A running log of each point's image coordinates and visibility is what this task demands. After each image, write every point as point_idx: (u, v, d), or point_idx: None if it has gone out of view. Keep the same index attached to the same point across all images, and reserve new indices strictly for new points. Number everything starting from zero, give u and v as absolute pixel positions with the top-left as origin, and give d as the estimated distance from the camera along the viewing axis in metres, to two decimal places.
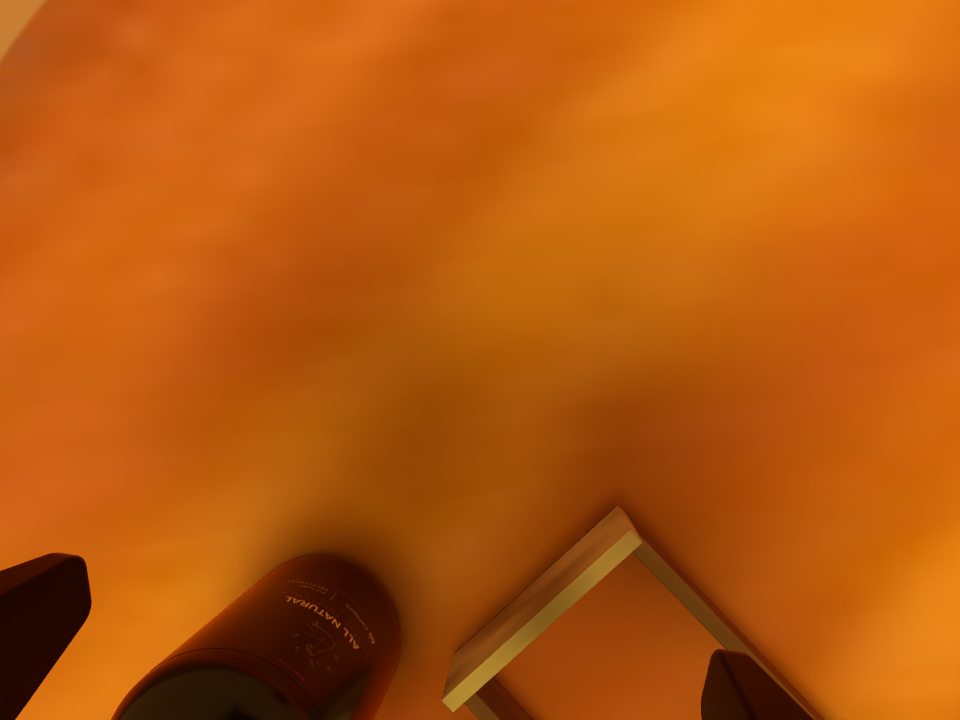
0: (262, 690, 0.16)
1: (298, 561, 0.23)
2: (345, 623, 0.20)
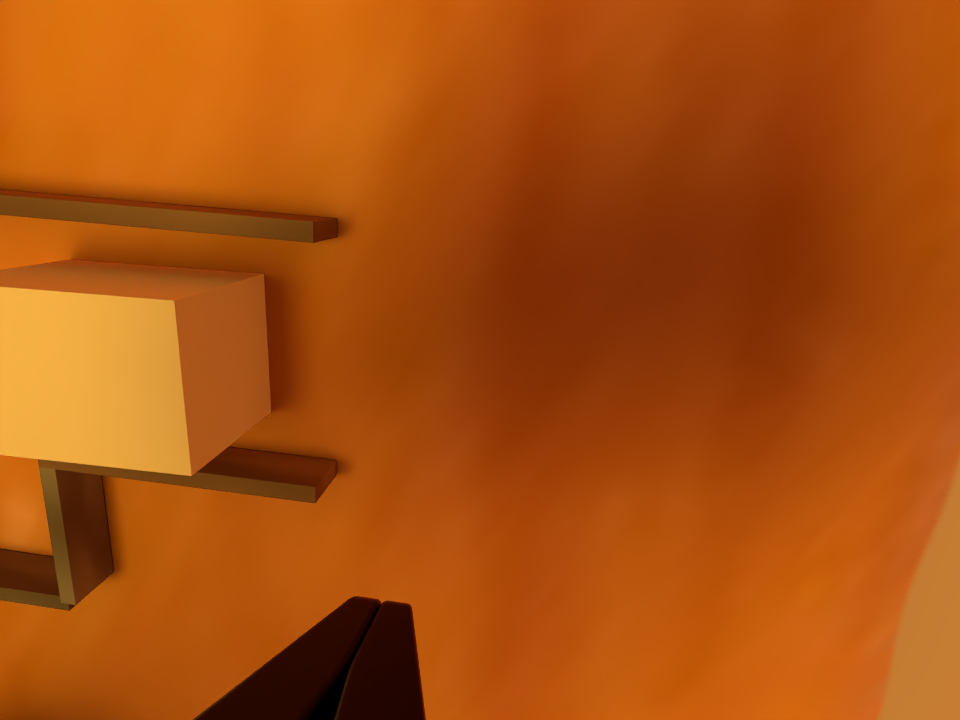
0: None
1: None
2: None
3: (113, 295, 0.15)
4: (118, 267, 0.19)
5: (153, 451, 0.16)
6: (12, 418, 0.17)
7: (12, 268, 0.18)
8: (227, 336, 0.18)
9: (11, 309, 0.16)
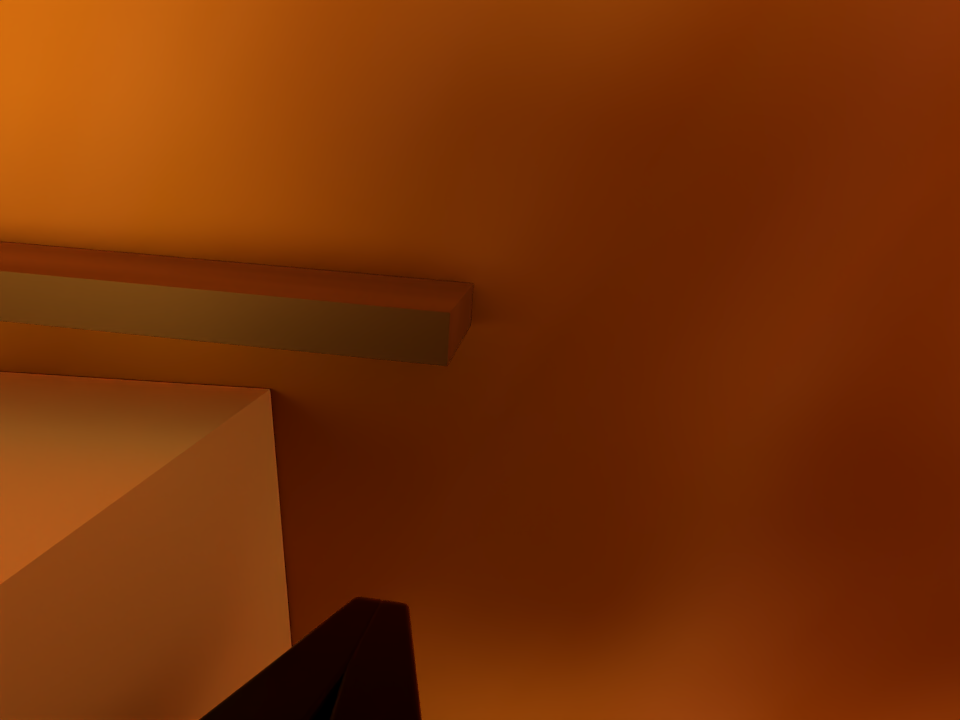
0: None
1: None
2: None
3: None
4: None
5: None
6: None
7: None
8: (178, 586, 0.07)
9: None
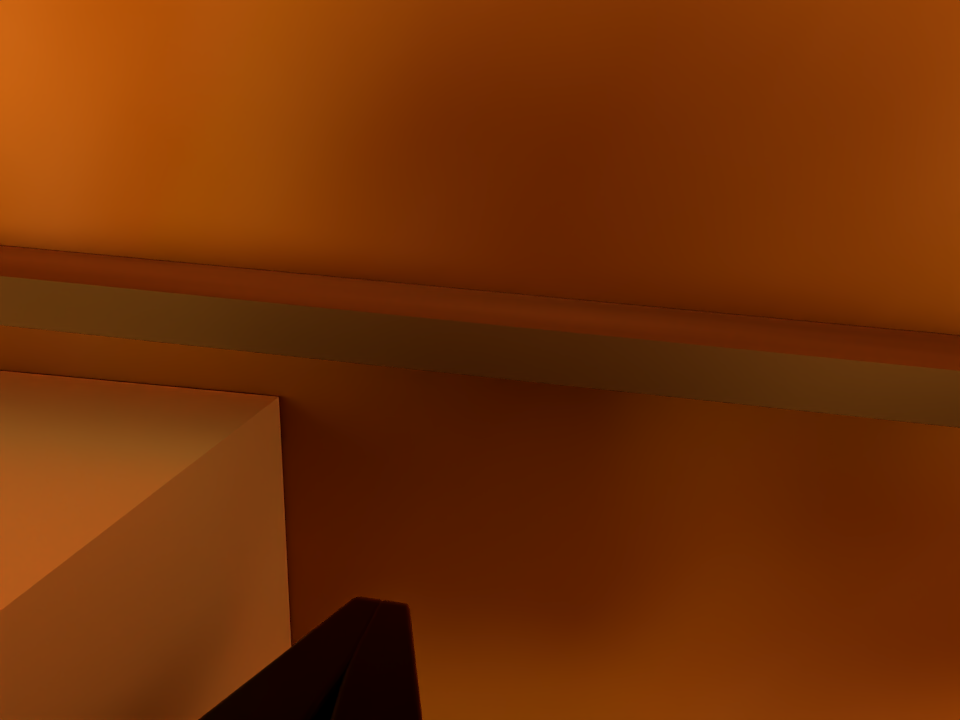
0: None
1: None
2: None
3: None
4: None
5: None
6: None
7: None
8: (187, 593, 0.07)
9: None
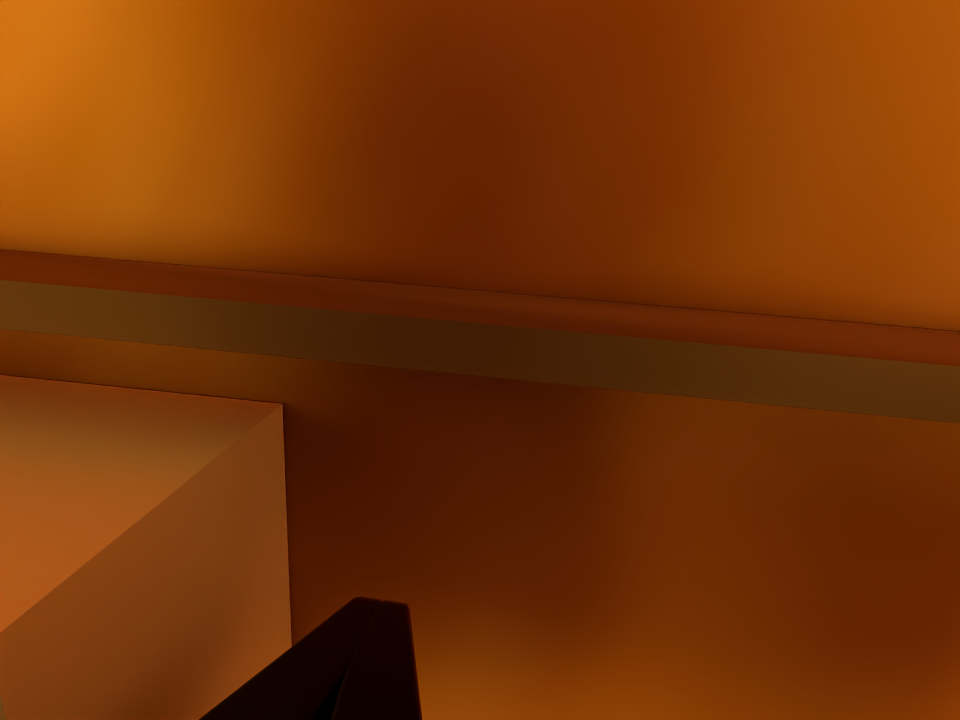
0: None
1: None
2: None
3: None
4: None
5: None
6: None
7: None
8: (190, 601, 0.07)
9: None
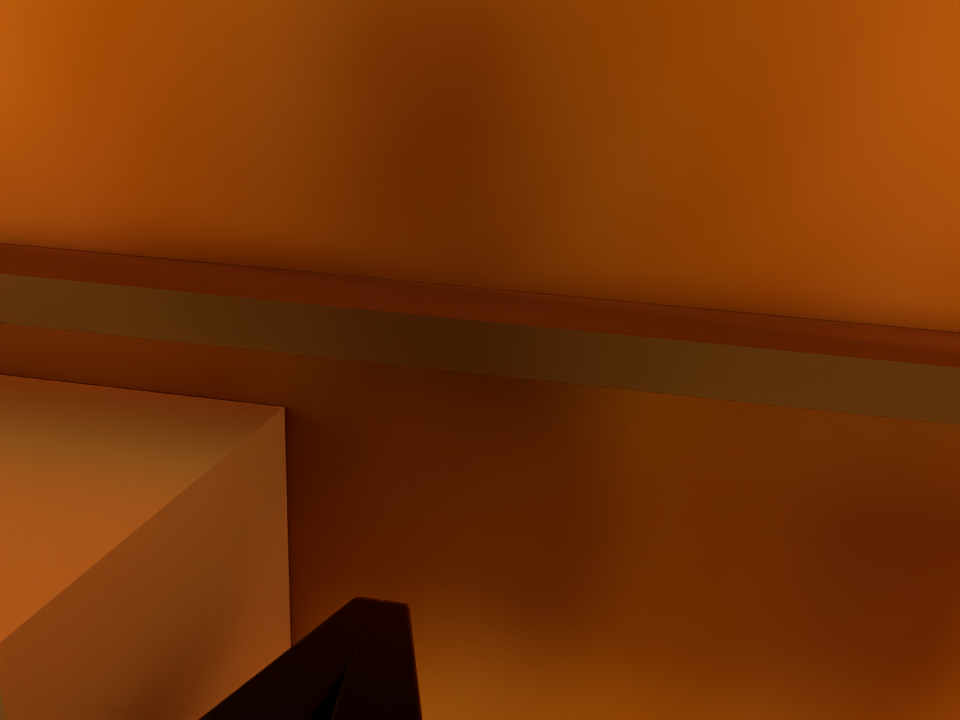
0: None
1: None
2: None
3: None
4: None
5: None
6: None
7: None
8: (192, 605, 0.07)
9: None
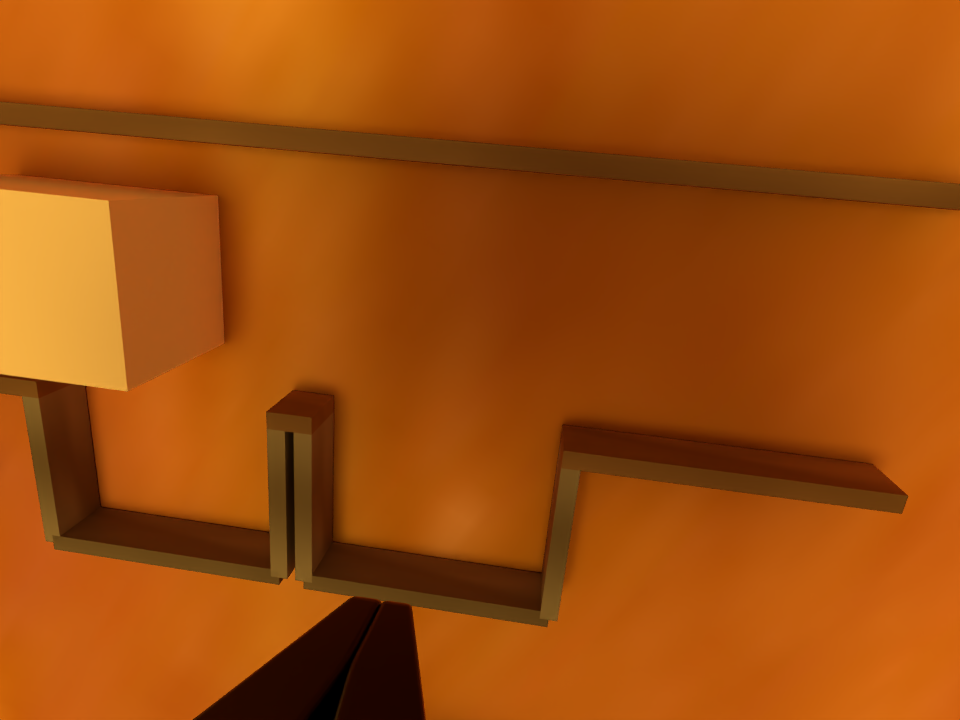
0: None
1: None
2: None
3: (45, 193, 0.14)
4: (65, 181, 0.18)
5: (88, 364, 0.16)
6: None
7: None
8: (172, 253, 0.17)
9: None
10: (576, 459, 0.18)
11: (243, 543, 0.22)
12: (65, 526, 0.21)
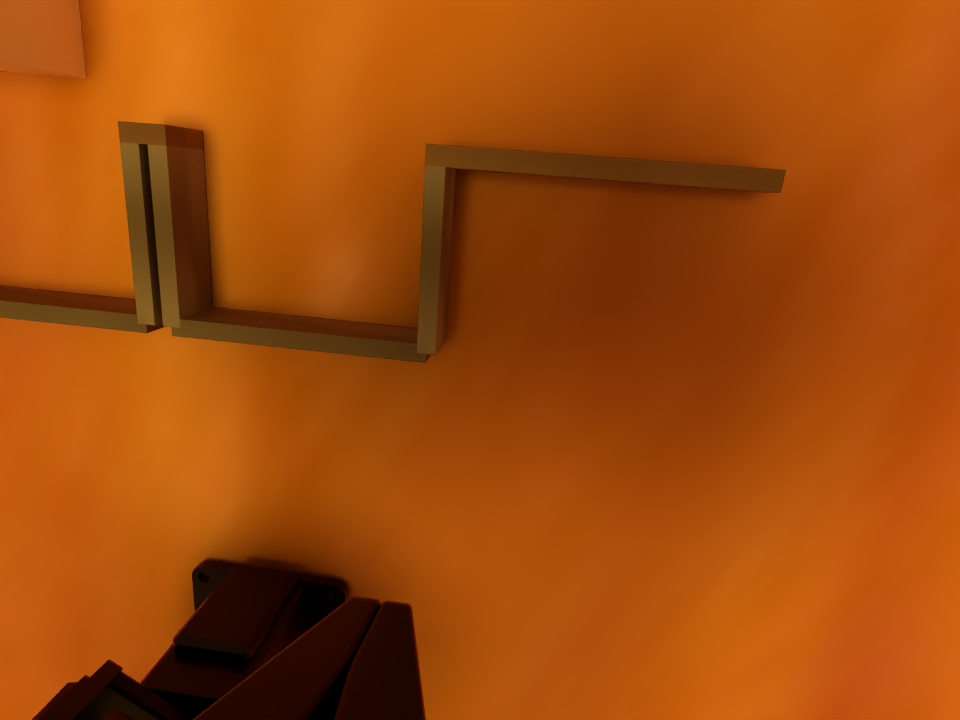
0: None
1: None
2: None
3: None
4: None
5: None
6: None
7: None
8: None
9: None
10: (440, 153, 0.17)
11: (115, 303, 0.21)
12: None
